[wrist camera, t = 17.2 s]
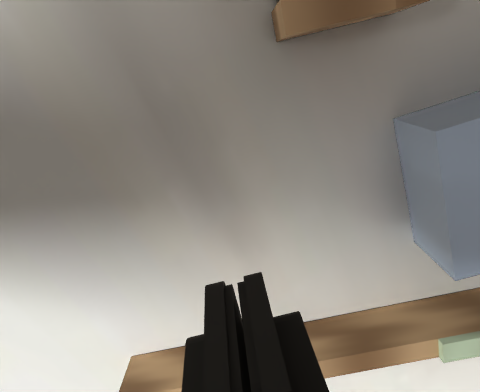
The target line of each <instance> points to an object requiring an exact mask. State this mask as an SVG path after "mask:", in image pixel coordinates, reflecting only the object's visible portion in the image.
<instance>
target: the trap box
mask: <svg viewBox="0 0 480 392" xmlns="http://www.w3.org/2000/svg"><path fill="white" fill-rule="evenodd" d="M276 1H277V5H276V6H275V8H274V9H273V11H272V12H271V13H272V19H273V24H274V30H275V36H276V41H277V42H278V41H282V40H287V39H291V38H295V37H299V36H303V35H307V34H311V33H315V32H319V31H323V30H327V29H331V28H335V27H340V26H344V25H348V24H352V23H356V22H360V21H364V20H368V19H372V18H376V17H380V16H384V15H388V14H392V13H396V12H398V11H401V10H404V9H407V8H410V7H413V6H415V5H418V4H421V3H424V2H427V1H430V0H276ZM304 325H305V328H306V330H307V333H308V336H309V339H310V341H311V344H312V347H313V349H314V352H315V355H316V358H317V360H318V363H319V366H320V368H321V371H322V374H323V376H324V378H330V377H335V376H340V375H346V374H351V373H356V372H362V371H367V370H372V369H378V368H383V367H388V366H394V365H399V364H404V363H410V362H415V361H420V360H426V359H431V358H436V357H439V358H440V359H441V360H442V362H443V363H447V362H452V361H457V360H463V359H468V358H474V357H479V356H480V288H477V289H472V290H467V291H461V292H456V293H451V294H446V295H441V296H436V297H431V298H426V299H421V300H416V301H411V302H406V303H401V304H396V305H391V306H385V307H380V308H375V309H370V310H365V311H360V312H355V313H350V314H345V315H340V316H335V317H330V318H325V319H320V320H315V321H310V322H304ZM184 356H185V346H183V347H178V348H173V349H168V350H163V351H158V352H152V353H147V354H142V355H137V356H132V357H131V359H130V362H129V365H128V368H127V370H126V373H125V376H124V379H123V382H122V385H121V387H120V390H119V392H181V390H182V379H183V367H184Z"/></svg>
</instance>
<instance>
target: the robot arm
mask: <svg viewBox="0 0 480 392" xmlns="http://www.w3.org/2000/svg"><path fill="white" fill-rule="evenodd" d="M237 284H238V292H239V300H240V307H241V314H240V310H239V307H238V303H237V300H236V296H235V293H234V289H233V286H232V284H231V285H227V286H226V285H225V283H224V281H222V282H218V283H214V284H210V285H206V286H205V315H204V334H202V335H198V336H194V337H190V338H187V340H186V344H185V356H184V367H183V379H182V390H181V392H329V390H328V387H327V385H326V382H325V379H324V376H323V374H322V371H321V368H320V366H319V363H318V360H317V358H316V355H315V352H314V349H313V347H312V344H311V341H310V339H309V336H308V333H307V330H306V328H305V325H304V322H303V320H302V317H301V314H300V312H299V311H297V312H293V313H289V314H285V315H281V316H277V317H273V316H272V312H271V308H270V304H269V300H268V296H267V292H266V288H265V284H264V280H263V277H262V273H261V272H259V273H255V274H251V275H247V276H244V281H243V282H239V283H237ZM241 315H242V318H241Z"/></svg>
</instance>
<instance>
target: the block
mask: <svg viewBox="0 0 480 392" xmlns="http://www.w3.org/2000/svg"><path fill="white" fill-rule="evenodd" d="M393 121H394V127H395V133H396V138H397V144H398V150H399V156H400V162H401V167H402V173H403V179H404V185H405V190H406V196H407V202H408V208H409V214H410V219H411V225H412V231H413V237H414V242H415V243H416V244H417V245H418V246H419V247H420V248H421V249H422V250H423V251H424V252H425V253H426V254H428V255H429V256H430V257H431V258H432V259H433V260H434V261H435V262H436V263H437V264H438V265H439V266H440V267H441V268H442V269H443V270H444V271H445V272H446V273H447V274H449V275H450V276H451V277H452V278H453V279H454V280H455V281H457V280H461V279H464V278H468V277H472V276H475V275H479V274H480V91H478V92H475V93H472V94H468V95H465V96H462V97H459V98H456V99H453V100H450V101H447V102H444V103H440V104H437V105H434V106H431V107H428V108H425V109H422V110H419V111H416V112H412V113H409V114H406V115H403V116H400V117H397V118H394V119H393Z"/></svg>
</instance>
